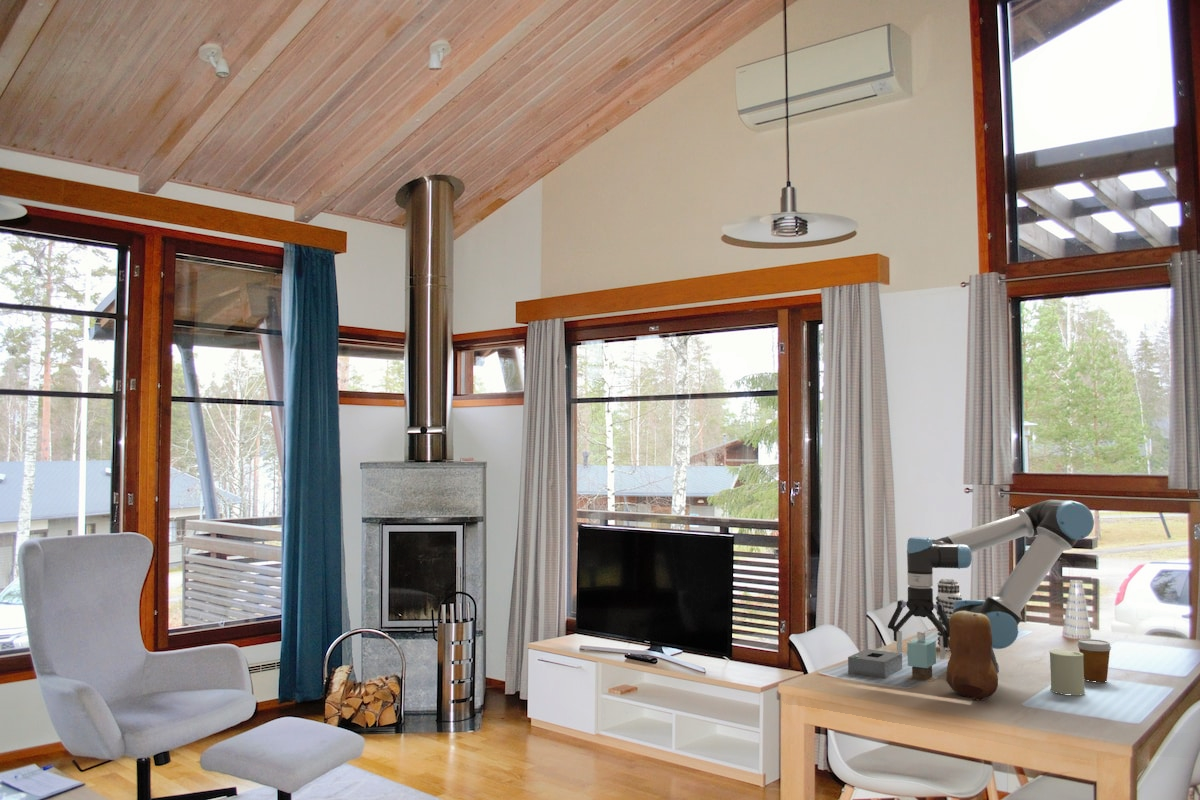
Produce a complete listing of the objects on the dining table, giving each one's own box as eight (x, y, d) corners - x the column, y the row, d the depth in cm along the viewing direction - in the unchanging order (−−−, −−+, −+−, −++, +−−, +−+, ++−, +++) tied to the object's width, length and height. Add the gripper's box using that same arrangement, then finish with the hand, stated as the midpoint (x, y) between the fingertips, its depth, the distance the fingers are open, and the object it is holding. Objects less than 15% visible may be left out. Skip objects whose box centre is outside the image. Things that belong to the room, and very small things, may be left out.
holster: (939, 680, 289) (938, 665, 289) (931, 684, 283) (931, 670, 283) (913, 676, 294) (913, 662, 294) (905, 681, 287) (905, 666, 288)
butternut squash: (993, 694, 272) (991, 608, 273) (1002, 705, 259) (1000, 615, 260) (943, 691, 275) (941, 606, 276) (950, 702, 262) (948, 614, 263)
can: (1083, 697, 268) (1082, 655, 269) (1048, 693, 273) (1047, 652, 273) (1086, 690, 276) (1084, 650, 276) (1052, 686, 280) (1051, 646, 281)
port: (902, 672, 300) (901, 652, 300) (885, 681, 287) (884, 660, 288) (866, 667, 307) (866, 648, 308) (848, 676, 294) (847, 656, 295)
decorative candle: (965, 647, 339) (964, 579, 341) (960, 652, 331) (958, 582, 333) (940, 645, 344) (938, 577, 346) (934, 649, 336) (932, 580, 338)
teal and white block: (936, 676, 290) (935, 631, 291) (927, 681, 283) (926, 635, 284) (917, 673, 294) (916, 629, 295) (908, 678, 286) (907, 633, 287)
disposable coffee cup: (1100, 685, 282) (1098, 645, 283) (1071, 679, 290) (1070, 640, 291) (1119, 682, 286) (1118, 643, 287) (1090, 675, 295) (1089, 637, 295)
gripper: (877, 584, 295) (877, 651, 293) (957, 591, 280) (958, 662, 278) (885, 582, 301) (885, 647, 299) (964, 589, 286) (965, 658, 284)
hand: (920, 655), depth 289 cm, fingers open, 13 cm apart
